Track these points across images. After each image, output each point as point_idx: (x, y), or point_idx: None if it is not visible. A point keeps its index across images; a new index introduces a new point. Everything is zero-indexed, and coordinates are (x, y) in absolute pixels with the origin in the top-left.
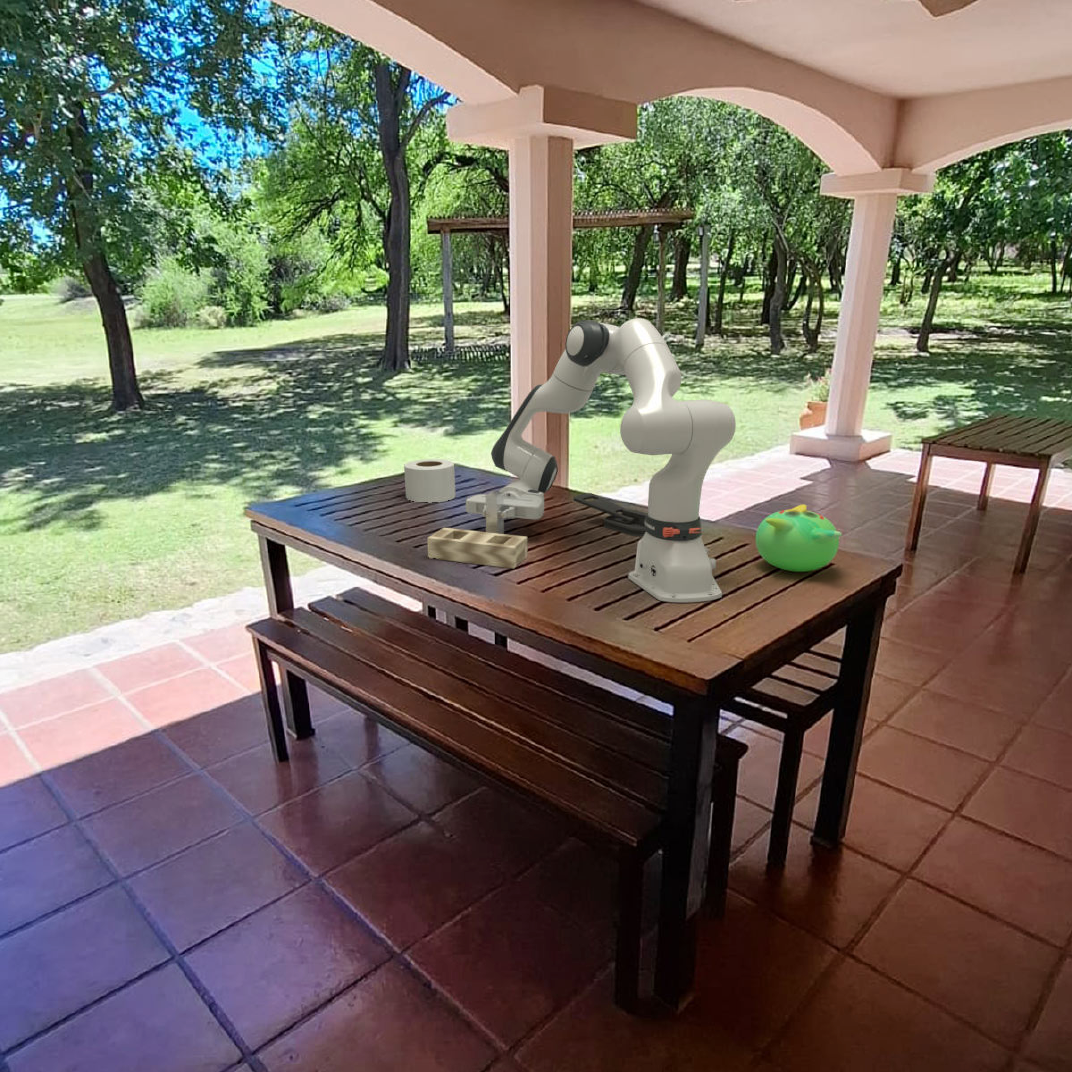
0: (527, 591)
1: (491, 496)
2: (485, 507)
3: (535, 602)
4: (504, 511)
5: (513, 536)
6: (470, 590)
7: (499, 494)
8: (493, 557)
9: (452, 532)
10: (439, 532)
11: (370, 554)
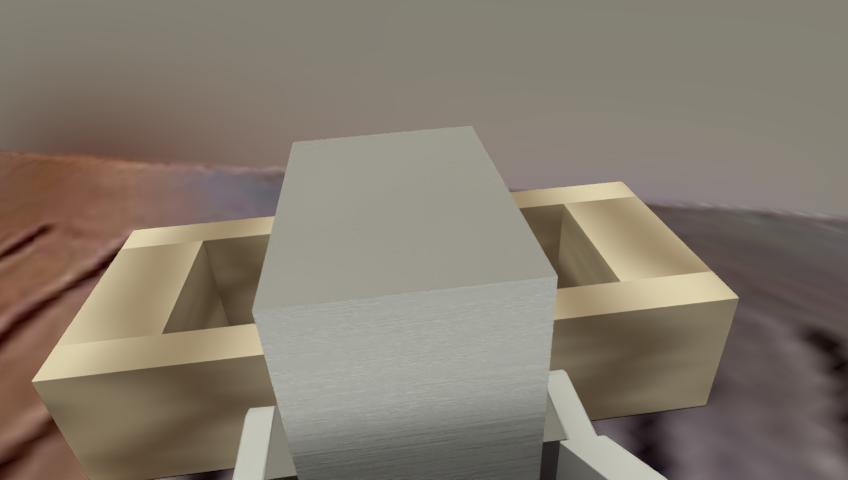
0: (100, 216)
1: (378, 143)
2: (624, 460)
3: (77, 188)
4: (258, 425)
5: (152, 349)
6: (283, 177)
7: (283, 189)
8: None
9: (612, 279)
10: (657, 237)
11: (833, 219)
